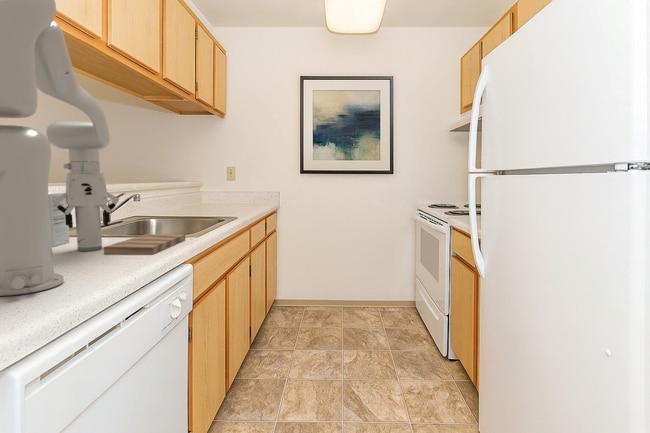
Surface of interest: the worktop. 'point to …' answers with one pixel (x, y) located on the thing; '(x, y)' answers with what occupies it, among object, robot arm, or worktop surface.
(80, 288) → the worktop surface
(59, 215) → the supplement box
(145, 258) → the worktop surface
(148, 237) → the walnut board
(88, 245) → the travel mug
